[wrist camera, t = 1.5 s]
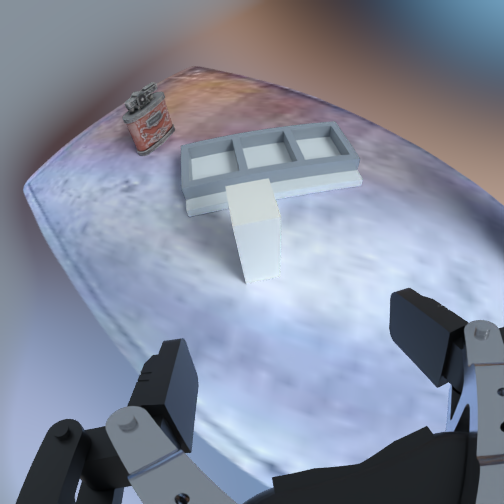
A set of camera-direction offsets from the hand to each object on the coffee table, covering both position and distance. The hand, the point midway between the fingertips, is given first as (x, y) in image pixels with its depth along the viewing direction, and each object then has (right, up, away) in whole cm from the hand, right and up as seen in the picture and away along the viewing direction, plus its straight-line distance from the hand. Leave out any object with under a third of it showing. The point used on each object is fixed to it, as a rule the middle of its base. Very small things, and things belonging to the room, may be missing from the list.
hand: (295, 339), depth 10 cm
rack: (+1, +15, +27) cm, 31 cm away
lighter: (-17, +21, +33) cm, 43 cm away
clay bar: (-1, +2, +20) cm, 20 cm away
